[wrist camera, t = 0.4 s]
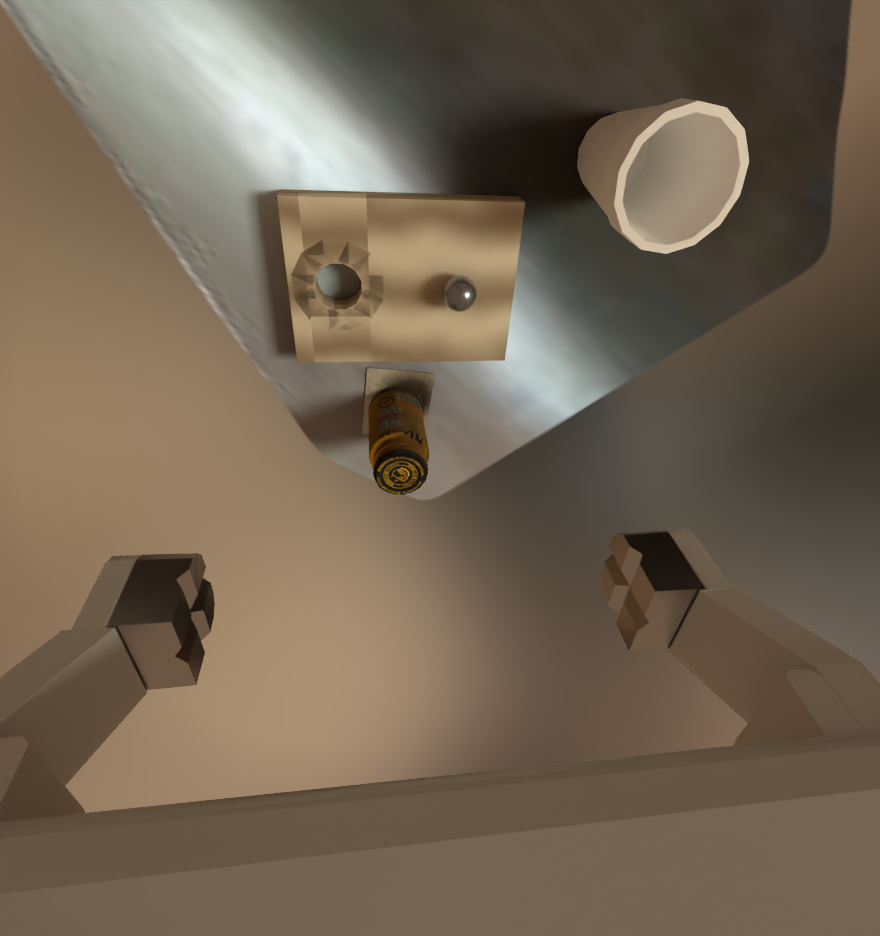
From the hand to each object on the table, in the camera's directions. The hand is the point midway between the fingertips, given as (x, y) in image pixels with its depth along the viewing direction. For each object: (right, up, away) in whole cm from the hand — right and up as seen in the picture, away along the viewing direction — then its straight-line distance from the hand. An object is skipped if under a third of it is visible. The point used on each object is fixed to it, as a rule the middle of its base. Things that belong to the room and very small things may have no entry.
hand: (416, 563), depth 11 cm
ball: (+2, +18, +39) cm, 43 cm away
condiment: (-4, +9, +50) cm, 51 cm away
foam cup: (+16, +30, +37) cm, 50 cm away
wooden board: (-3, +20, +41) cm, 46 cm away
